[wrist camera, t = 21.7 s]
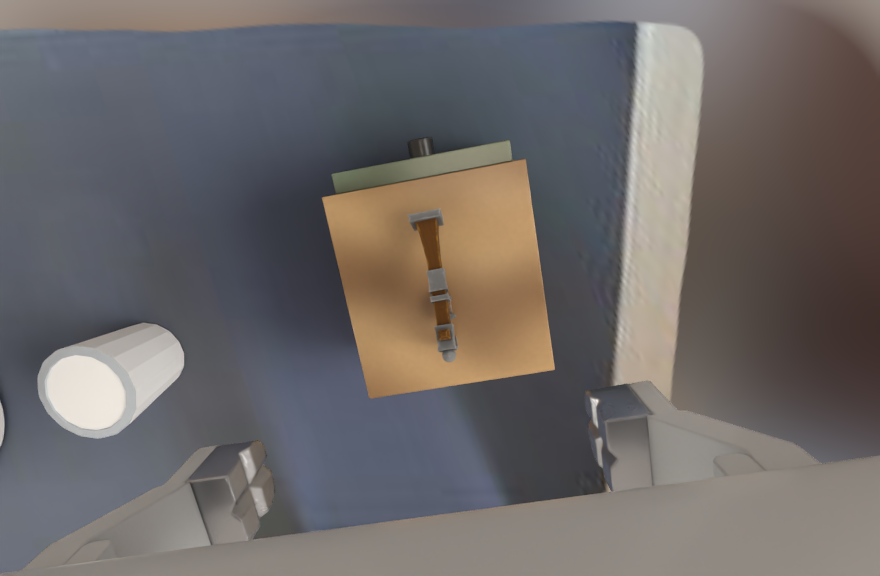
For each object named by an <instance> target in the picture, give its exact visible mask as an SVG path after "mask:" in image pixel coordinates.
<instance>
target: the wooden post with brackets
mask: <svg viewBox="0 0 880 576" xmlns="http://www.w3.org/2000/svg"><path fill="white" fill-rule="evenodd" d="M407 216H408V218H409V222H410V224H411V226H412V228H413V229H414V231H417V230H418V232H419V235H420V238H421V242H422V246H423V249H424V253H425V256H426V260H427V266H428V271H426V273H427V276H428V282H429V293H430V294H431V295H432V297H430V299H431V303H432V304H433V305H434V309H435V316H436V322H437V326H434V328H435V331H436V337H437V344H438V352H440V353H442V352H443V353H442V357H443V359H444V360H445V361H446V362H452V361H454V360H455V358H456V352H455V351H454V350H458V349H457V348H459V347H458V342H457V337H456V335H455V334H454V325H453V324H452V322H451V320H452V319H453V318H455V317H456V315H455V313H452V305H451V300H452V298H451V296H449V294H448V292H449V290H448V287H447V282H446V272H445V269H444V268H442V262H441V254H440V243H439V226H443V225H444V224H443V220H444V219H443V216H442V212H441V209H440V208H439V209H434V210H430V211H425V212H420V213H415V214H410V215H407Z"/></svg>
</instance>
